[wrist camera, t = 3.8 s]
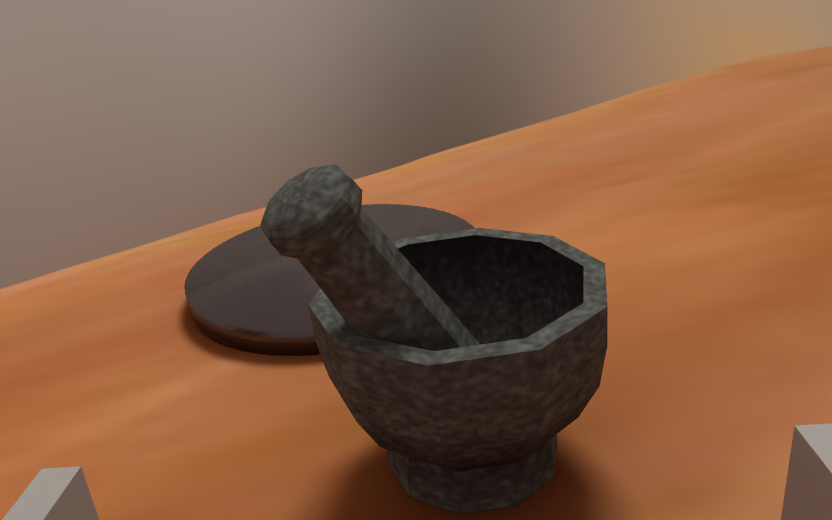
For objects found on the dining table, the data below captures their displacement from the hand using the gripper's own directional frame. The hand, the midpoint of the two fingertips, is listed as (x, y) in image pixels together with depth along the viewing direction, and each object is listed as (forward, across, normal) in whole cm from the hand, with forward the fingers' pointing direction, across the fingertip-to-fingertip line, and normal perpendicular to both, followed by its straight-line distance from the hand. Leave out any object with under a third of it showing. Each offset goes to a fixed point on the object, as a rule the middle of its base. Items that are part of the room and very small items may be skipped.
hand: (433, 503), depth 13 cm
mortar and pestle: (+10, 0, -8) cm, 13 cm away
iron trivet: (+27, -6, -7) cm, 29 cm away
